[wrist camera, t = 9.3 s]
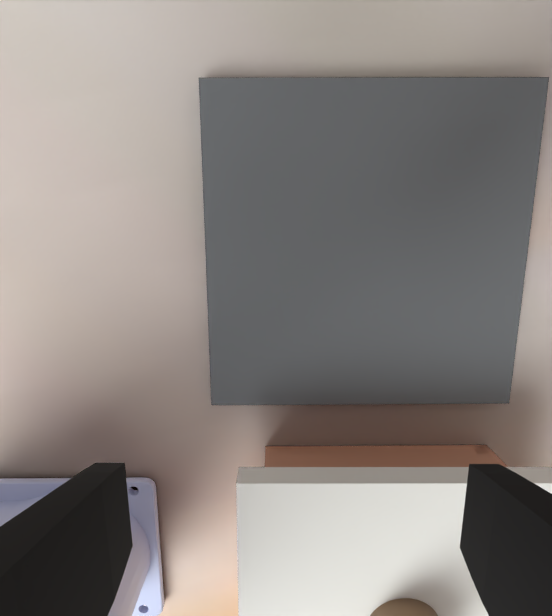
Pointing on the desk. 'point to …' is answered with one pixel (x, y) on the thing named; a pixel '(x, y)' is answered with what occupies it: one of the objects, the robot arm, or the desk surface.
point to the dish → (380, 456)
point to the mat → (367, 236)
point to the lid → (356, 541)
